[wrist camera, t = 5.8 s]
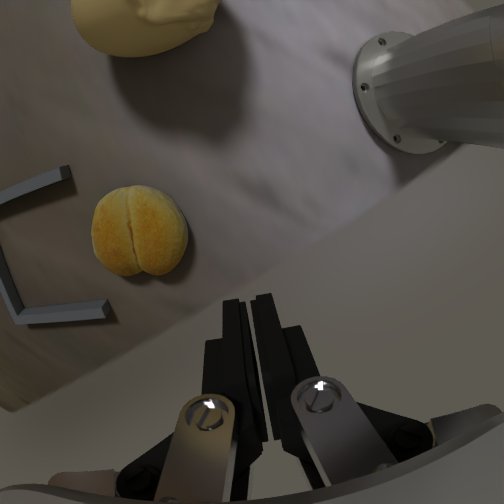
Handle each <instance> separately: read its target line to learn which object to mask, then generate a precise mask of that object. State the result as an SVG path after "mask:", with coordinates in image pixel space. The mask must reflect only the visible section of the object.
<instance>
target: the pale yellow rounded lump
mask: <svg viewBox="0 0 504 504" xmlns="http://www.w3.org/2000/svg"><path fill="white" fill-rule="evenodd" d="M221 1H222V0H71V11H72V17H73V20H74V23H75V26H76V28H77V30H78V32H79V33H80V35H81V36H82V38H83V39H84V40H85V41H86V42H87V43H88V44H89V45H90V46H92V47H93V48H95V49H96V50H98V51H100V52H103V53H105V54H108V55H112V56H118V57H144V56H150V55H155V54H159V53H162V52H165V51H168V50H170V49H173V48H175V47H177V46H179V45H181V44H183V43H185V42H187V41H188V40H190V39H192V38H193V37H194V36H196V35H198V34H200V33H204V32H207V31H208V30H209V29H210V27H211V25H212V24H213V22H214V14H215V11H216V9H217V6H218V4H219V2H221Z"/></svg>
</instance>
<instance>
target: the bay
mask: <svg viewBox="0 0 504 504" xmlns="http://www.w3.org/2000/svg"><path fill="white" fill-rule="evenodd" d="M70 177H71V174H70V169H69V165H66V166H62V167H58V168H56V169H53V170H50V171H48V172H45V173H43V174H40V175H38V176H35V177H33V178H31V179H28V180H26V181H23V182H21V183H19V184H17V185H14V186H12V187H10V188H8V189H6V190H4V191H1V192H0V204H2V203H5V202H7V201H9V200H12V199H14V198H16V197H19V196H21V195H24V194H26V193H29V192H31V191H34V190H36V189H39V188H42V187H44V186H47V185H50V184H52V183H55V182H58V181H61V180H64V179H67V178H70ZM0 292H1V294H2V296H3V299H4V301H5V303H6V305H7V308H8V310H9V312H10V314H11V316H12V318H13V320H14V322H15V324H16V325H17V324H35V323H50V322H64V321H77V320H88V319H99V318H106V316H107V315H108V313H109V311H110V310H111V307H110V305H109V302H108V300H107V299H104V300H96V301H87V302H79V303H71V304H62V305H53V306H44V307H34V308H25V309H24V307H23V305H22V303H21V300H20V298H19V296H18V293H17V291H16V289H15V286H14V284H13V281H12V279H11V276H10V274H9V271H8V268H7V265H6V263H5V260H4V257H3V254H2V251H1V248H0Z"/></svg>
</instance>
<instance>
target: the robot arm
mask: <svg viewBox="0 0 504 504" xmlns="http://www.w3.org/2000/svg"><path fill="white" fill-rule="evenodd" d="M352 82H353V91H354V95H355V98H356V102H357V105H358V107H359V109H360V112H361V114H362V116H363V118H364V119H365V121H366V122H367V124H368V125H369V127H370V128H371V129H372V130H373V131H374V133H375V134H376V135H377V136H378V137H379V138H380V139H382V140H383V141H384V142H385V143H386V144H388V145H390V146H391V147H393V148H395V149H397V150H400V151H403V152H406V153H412V154H427V153H431V152H434V151H436V150H438V149H440V148H441V147H442V146H444V145H445V144H446V143H447V142H448V141H452V142H461V143H469V144H476V145H483V146H489V147H496V148H501V149H504V4H501V5H498V6H494V7H490V8H487V9H484V10H481V11H477V12H474V13H471V14H468V15H466V16H463V17H460V18H457V19H454V20H452V21H449V22H447V23H444V24H441V25H439V26H436V27H434V28H431V29H429V30H427V31H424V32H422V33H420V34H417V35H415V36H413V35H411V34H407V33H404V32H394V31H392V32H385V33H382V34H379V35H377V36H375V37H373V38H372V39H370V40H369V41H367V42H366V43H365V44H364V45H363V47H362V48H361V49H360V51H359V52H358V54H357V56H356V58H355V62H354V66H353V75H352ZM361 87H362V88H363V91H362V90H361ZM393 138H394V139H393ZM250 303H251V309H252V316H253V322H254V328H255V335H256V341H257V348H258V353H259V360H260V366H261V373H262V379H263V384H264V390H265V395H266V400H267V406H268V411H269V416H270V421H271V426H272V432H273V437H274V440H279V439H281V442H282V447H283V450H284V451H286V452H288V453H290V454H292V455H294V456H296V459H297V462H298V465H299V467H300V469H301V471H302V474H303V476H304V478H305V480H306V483H307V485H308V487H309V489H310V491H306V492H301V493H296V494H290V495H284V496H278V497H272V498H264V499H256V500H251V491H252V480H253V462H254V461H255V460H256V459H257V458H258V457H259V456H260V455H261V454H262V451H263V447H262V442H267V441H268V434H267V428H266V422H265V414H264V409H263V402H262V395H261V389H260V382H259V374H258V368H257V362H256V356H255V351H254V346H253V340H252V335H251V330H250V324H249V319H248V313H247V308H246V303H245V302H239V299H232V300H226V301H223V331H222V332H223V335H222V337H223V338H220V339H214V340H207V341H206V342H205V353H204V367H203V380H202V395H200V396H197V397H195V398H193V399H192V400H190V401H188V402H187V403H186V404H185V405H184V406H183V408H182V410H181V412H180V414H179V418H178V421H177V424H176V427H175V431H174V432H173V433H172V434H171V435H169V436H168V437H167V438H165V439H164V440H163V441H161V442H160V443H158V444H157V445H156V446H154V447H153V448H151V449H150V450H149V451H147V452H146V453H145V454H143V455H142V456H140V457H139V458H138V459H136V460H134V461H133V462H132V463H130V464H129V465H127V466H126V467H125V468H124V469H122V470H121V471H120V472H116V471H115V470H114V469H110V470H98V471H82V472H81V471H80V472H60V473H57V474H55V475H54V476H52V477H51V479H50V480H49V481H48V485H45V484H19V485H12V486H8V487H5V488H2V489H0V504H504V412H502V411H501V410H500V409H499V408H497V407H496V406H495V405H491V404H483V405H479V406H476V407H473V408H469V409H466V410H462V411H459V412H455V413H451V414H448V415H444V416H440V417H436V418H431V419H430V421H429V422H427V423H422V422H420V421H417V420H414V419H411V418H407V417H403V416H400V415H397V414H393V413H390V412H386V411H383V410H380V409H377V408H373V407H371V406H367V405H364V404H361V403H358V402H356V401H355V400H354V398H353V397H352V395H351V394H350V393H349V391H348V390H347V389H346V387H345V386H344V385H343V384H342V383H341V382H340V381H338V380H336V379H334V378H331V377H327V376H320V374H319V371H318V369H317V366H316V364H315V361H314V358H313V356H312V353H311V351H310V348H309V345H308V343H307V340H306V338H305V335H304V333H303V330H302V328H301V326H300V325H298V326H293V327H287V328H281V325H280V321H279V318H278V314H277V311H276V307H275V304H274V301H273V297H272V294H271V293H268V294H262V295H257V296H256V300H252V301H250Z"/></svg>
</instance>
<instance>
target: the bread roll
mask: <svg viewBox="0 0 504 504" xmlns="http://www.w3.org/2000/svg"><path fill="white" fill-rule="evenodd" d="M91 235H92V242H93V247H94V253H95V255H96V257H97V258H98V259H99V260H100V262H101V263H102V264H103V266H104V267H106V268H107V269H108V270H109V271H111V272H113V273H115V274H117V275H121V276H131V275H136V274H138V273H140V272H142V271H145V272H147V273H149V274H151V275H155V276H159V275H164V274H166V273H169V272H170V271H171V270H172V269H173V268H174V267H175V266H176V265H177V264H178V263H179V262H180V260H181V259H182V256H183V254H184V252H185V250H186V247H187V244H188V227H187V223H186V220H185V218H184V216H183V214H182V213H181V211H180V209H179V207H178V206H177V205H176V203H175V202H174V201H173V200H172V199H171V198H170V197H169V196H167V195H166V194H165V193H163V192H161V191H159V190H157V189H154V188H151V187H149V186H142V185H136V186H131V187H125V188H119V189H116V190H114V191H112V192H110V193H109V194H107V195H106V196H105V197H104V198H102V199H101V200H100V201H99V203H98V205H97V207H96V209H95V213H94V217H93V223H92V231H91Z"/></svg>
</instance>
